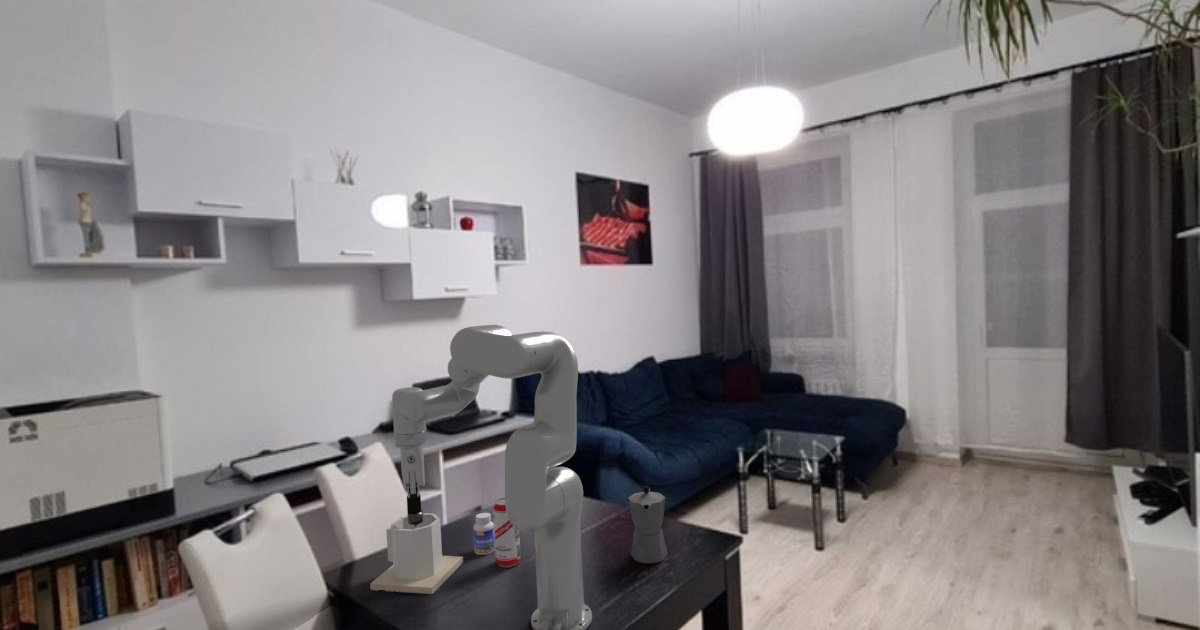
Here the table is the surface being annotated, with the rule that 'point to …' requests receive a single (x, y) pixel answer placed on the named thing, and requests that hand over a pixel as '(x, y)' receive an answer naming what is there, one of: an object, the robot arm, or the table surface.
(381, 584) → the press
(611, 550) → the table surface
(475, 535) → the pill bottle
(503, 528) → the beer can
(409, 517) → the plunger
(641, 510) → the coffeepot
